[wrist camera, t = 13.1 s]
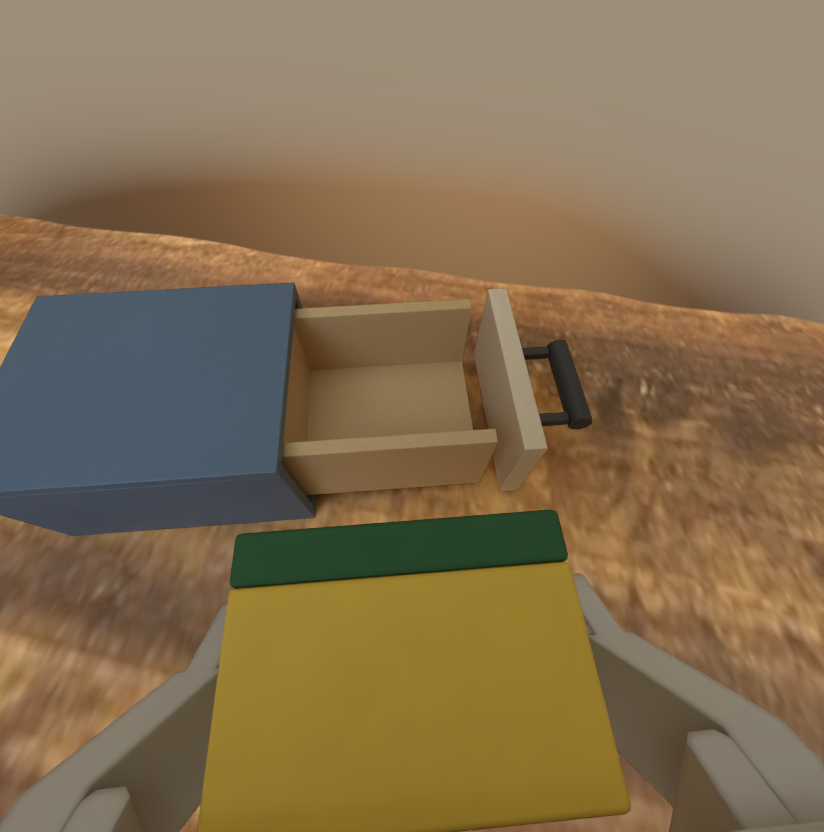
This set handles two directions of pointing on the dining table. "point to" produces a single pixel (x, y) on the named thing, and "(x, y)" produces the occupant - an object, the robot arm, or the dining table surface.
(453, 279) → the dining table surface
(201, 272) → the dining table surface
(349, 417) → the drawer
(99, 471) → the cabinet
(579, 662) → the scrub sponge
